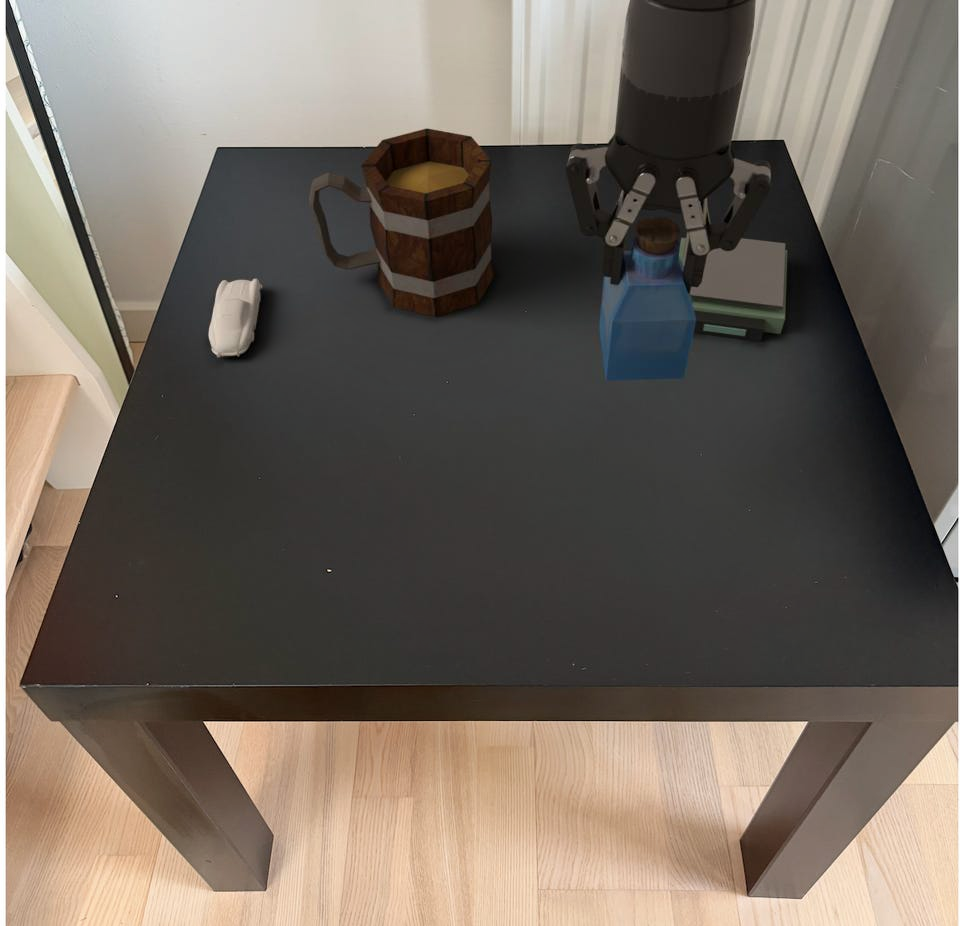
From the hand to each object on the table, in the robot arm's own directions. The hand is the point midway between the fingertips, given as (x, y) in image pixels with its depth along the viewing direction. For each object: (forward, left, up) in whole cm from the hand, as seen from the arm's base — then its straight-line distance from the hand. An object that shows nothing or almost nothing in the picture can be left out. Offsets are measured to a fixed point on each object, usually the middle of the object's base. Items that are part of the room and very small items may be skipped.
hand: (651, 281), depth 68 cm
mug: (+28, -24, -23) cm, 43 cm away
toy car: (+45, -12, -23) cm, 52 cm away
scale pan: (-8, -29, -21) cm, 36 cm away
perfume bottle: (0, 0, -8) cm, 8 cm away
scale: (-8, -29, -23) cm, 38 cm away
